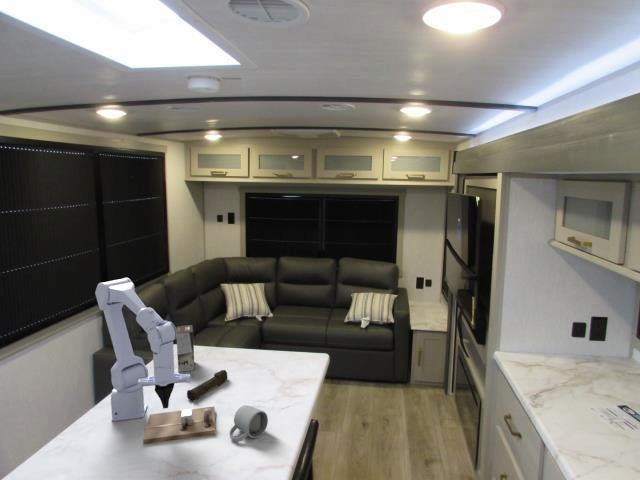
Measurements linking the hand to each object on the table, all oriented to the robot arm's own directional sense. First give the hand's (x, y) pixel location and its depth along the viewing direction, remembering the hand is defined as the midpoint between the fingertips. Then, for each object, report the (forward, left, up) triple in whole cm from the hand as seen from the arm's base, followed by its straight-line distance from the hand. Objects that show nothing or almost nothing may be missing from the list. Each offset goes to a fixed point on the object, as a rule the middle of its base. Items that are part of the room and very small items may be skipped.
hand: (165, 406), depth 130 cm
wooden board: (+4, +1, -8) cm, 9 cm away
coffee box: (+3, +46, -8) cm, 47 cm away
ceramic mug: (+24, -8, -8) cm, 26 cm away
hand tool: (+12, +24, -8) cm, 28 cm away
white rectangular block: (+6, 0, -6) cm, 8 cm away
